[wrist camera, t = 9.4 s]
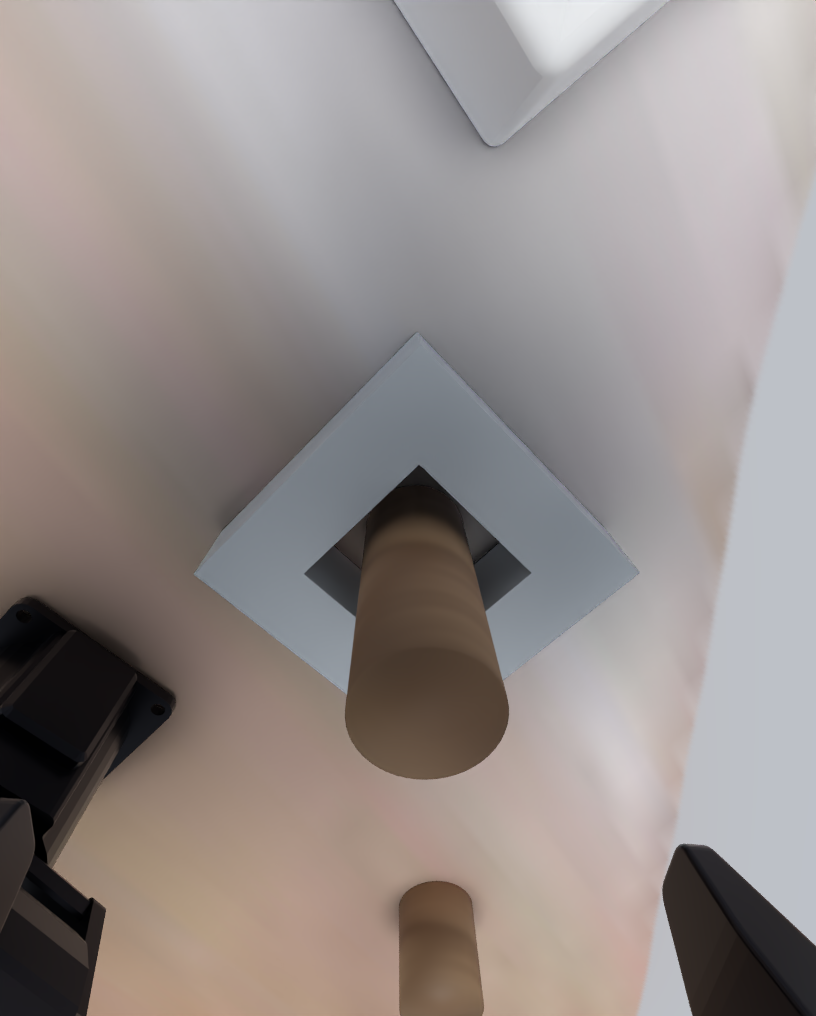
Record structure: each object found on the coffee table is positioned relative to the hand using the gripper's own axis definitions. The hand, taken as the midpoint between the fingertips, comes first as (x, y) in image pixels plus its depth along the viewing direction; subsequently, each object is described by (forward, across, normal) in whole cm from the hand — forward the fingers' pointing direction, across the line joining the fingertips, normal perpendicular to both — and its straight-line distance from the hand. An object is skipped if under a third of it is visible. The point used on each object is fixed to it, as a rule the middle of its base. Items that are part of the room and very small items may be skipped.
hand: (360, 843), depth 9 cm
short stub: (+12, -4, +18) cm, 23 cm away
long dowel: (+12, -1, +1) cm, 12 cm away
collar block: (+12, -1, +1) cm, 12 cm away
